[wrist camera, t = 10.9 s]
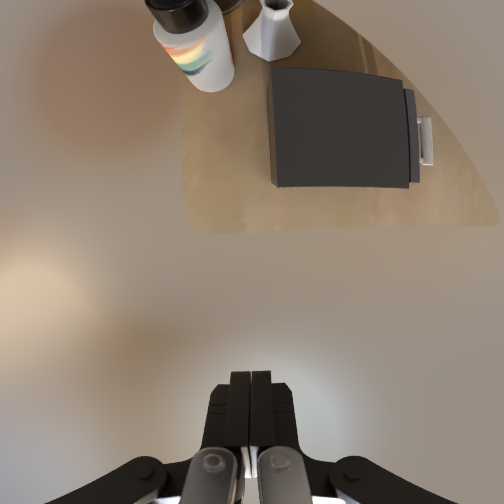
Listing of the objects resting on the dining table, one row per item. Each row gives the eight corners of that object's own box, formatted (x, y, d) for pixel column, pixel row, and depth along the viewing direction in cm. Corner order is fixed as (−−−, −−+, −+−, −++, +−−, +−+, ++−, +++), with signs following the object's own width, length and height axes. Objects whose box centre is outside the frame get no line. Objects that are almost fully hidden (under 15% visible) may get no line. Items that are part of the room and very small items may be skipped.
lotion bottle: (219, 48, 29) (187, -47, 10) (243, 77, 30) (230, -12, 11) (183, 71, 30) (117, -6, 11) (206, 101, 31) (151, 33, 12)
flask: (275, 11, 27) (280, -29, 17) (310, 45, 28) (327, 9, 19) (232, 35, 28) (225, -3, 19) (267, 70, 30) (271, 38, 20)
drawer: (411, 107, 30) (443, 97, 22) (415, 180, 32) (448, 185, 25) (292, 96, 30) (302, 76, 23) (296, 177, 33) (308, 180, 25)
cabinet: (369, 98, 30) (402, 80, 21) (373, 182, 34) (409, 188, 24) (266, 93, 31) (270, 67, 22) (271, 182, 34) (277, 187, 25)
